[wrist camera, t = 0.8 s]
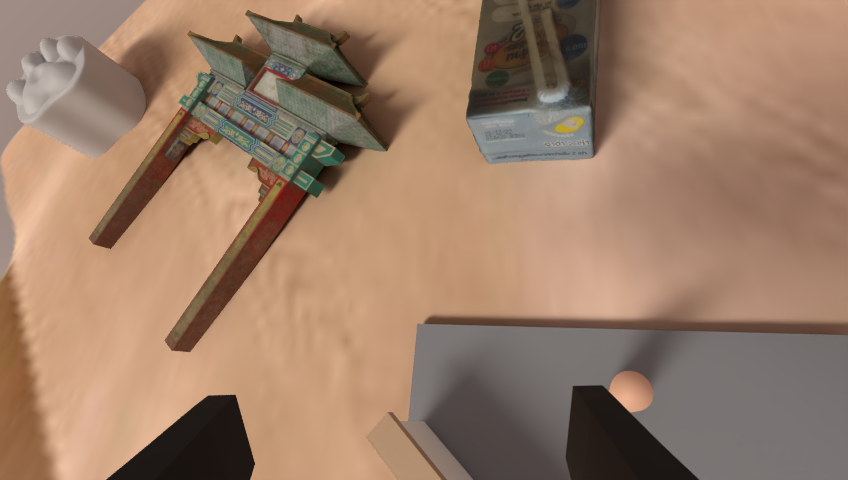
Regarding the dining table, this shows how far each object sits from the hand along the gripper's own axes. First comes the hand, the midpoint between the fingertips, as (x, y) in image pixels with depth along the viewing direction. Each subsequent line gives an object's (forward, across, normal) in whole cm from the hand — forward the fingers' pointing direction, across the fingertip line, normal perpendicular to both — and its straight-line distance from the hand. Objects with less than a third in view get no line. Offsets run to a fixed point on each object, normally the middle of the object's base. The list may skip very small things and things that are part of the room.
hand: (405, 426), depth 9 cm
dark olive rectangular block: (+29, -10, -7) cm, 32 cm away
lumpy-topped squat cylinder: (+48, +40, -4) cm, 63 cm away
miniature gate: (+34, +18, +1) cm, 38 cm away
